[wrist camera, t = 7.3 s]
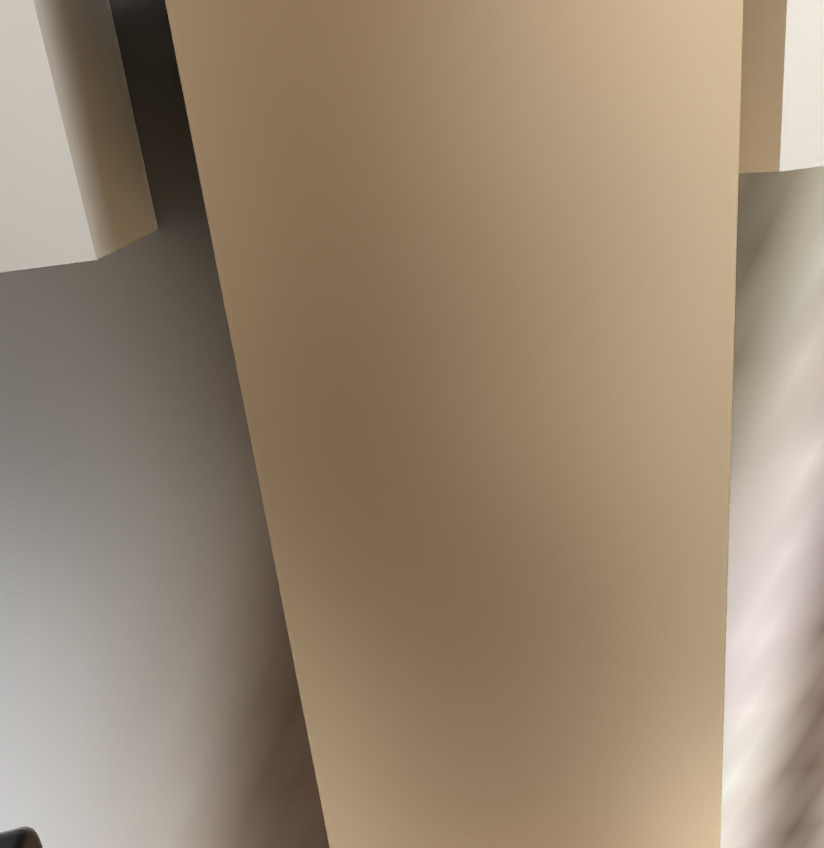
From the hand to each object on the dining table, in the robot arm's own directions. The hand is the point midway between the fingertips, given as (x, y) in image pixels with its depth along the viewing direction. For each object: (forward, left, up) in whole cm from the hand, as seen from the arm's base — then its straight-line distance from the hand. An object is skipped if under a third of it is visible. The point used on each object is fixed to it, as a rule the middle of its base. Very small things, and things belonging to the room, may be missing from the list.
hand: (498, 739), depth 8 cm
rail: (0, 0, -5) cm, 5 cm away
